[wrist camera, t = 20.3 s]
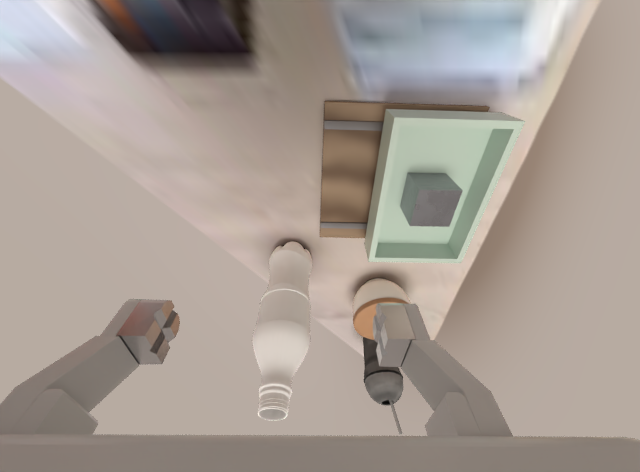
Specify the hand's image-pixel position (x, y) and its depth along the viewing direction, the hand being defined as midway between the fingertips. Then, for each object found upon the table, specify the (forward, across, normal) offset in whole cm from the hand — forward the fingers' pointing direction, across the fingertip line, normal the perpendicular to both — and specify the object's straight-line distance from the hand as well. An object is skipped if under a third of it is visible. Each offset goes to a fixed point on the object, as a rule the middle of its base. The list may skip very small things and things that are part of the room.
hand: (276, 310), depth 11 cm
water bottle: (+29, +2, +21) cm, 36 cm away
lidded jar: (+29, -14, +30) cm, 44 cm away
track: (+29, -12, +7) cm, 32 cm away
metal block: (+26, -16, +7) cm, 31 cm away
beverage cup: (+29, -15, +42) cm, 53 cm away
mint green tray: (+28, -16, +7) cm, 33 cm away
